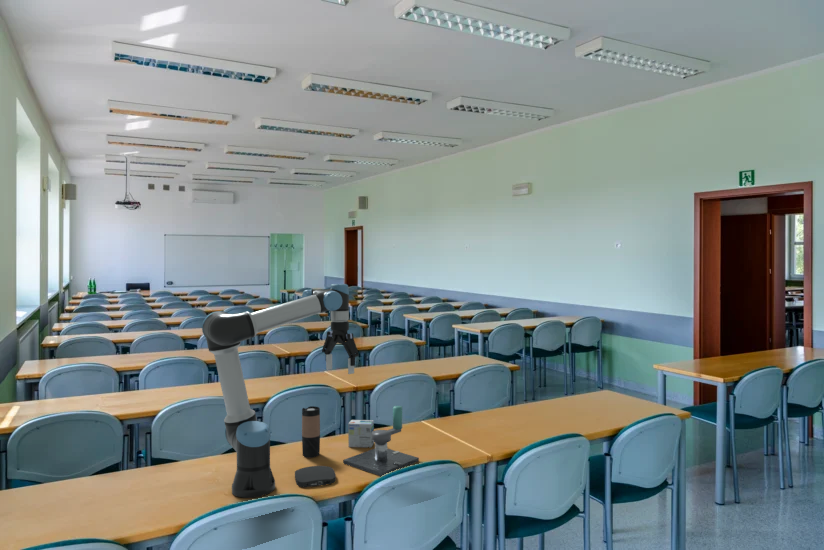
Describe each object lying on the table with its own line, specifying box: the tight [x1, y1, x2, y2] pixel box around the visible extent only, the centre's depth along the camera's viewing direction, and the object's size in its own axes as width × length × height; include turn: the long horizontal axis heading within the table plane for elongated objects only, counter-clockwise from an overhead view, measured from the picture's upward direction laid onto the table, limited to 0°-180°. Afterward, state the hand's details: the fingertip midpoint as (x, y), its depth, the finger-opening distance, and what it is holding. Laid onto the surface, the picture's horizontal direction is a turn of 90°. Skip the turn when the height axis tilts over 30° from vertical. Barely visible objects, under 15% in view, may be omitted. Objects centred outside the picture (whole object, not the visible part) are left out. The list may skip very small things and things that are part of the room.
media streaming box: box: [294, 465, 337, 488], centre depth 213 cm, size 15×15×3 cm
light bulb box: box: [347, 419, 375, 449], centre depth 252 cm, size 11×7×11 cm, turn 84°
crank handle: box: [371, 405, 403, 444], centre depth 233 cm, size 8×16×12 cm, turn 139°
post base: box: [342, 442, 420, 477], centre depth 230 cm, size 22×22×9 cm
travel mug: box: [301, 405, 321, 459], centre depth 239 cm, size 8×8×20 cm
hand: (340, 371), depth 234 cm, fingers open, 13 cm apart
